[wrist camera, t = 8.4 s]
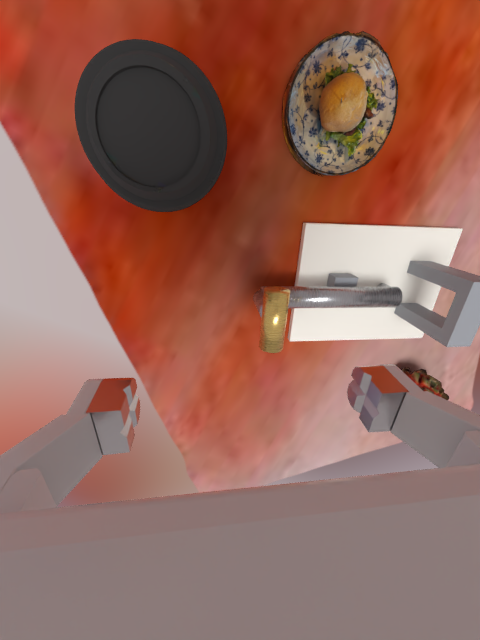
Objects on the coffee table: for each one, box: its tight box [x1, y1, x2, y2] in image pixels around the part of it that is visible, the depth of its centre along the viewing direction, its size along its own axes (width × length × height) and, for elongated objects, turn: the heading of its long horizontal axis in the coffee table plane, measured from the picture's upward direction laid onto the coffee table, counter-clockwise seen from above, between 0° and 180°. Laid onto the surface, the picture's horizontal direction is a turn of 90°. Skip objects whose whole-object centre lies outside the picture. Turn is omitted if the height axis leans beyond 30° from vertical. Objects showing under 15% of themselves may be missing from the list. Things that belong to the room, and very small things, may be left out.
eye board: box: [288, 223, 480, 347], centre depth 33 cm, size 21×16×10 cm
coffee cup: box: [75, 39, 227, 212], centre depth 22 cm, size 9×9×15 cm
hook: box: [253, 283, 403, 353], centre depth 31 cm, size 19×6×10 cm, turn 87°
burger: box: [282, 31, 398, 176], centre depth 26 cm, size 12×12×8 cm
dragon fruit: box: [402, 368, 449, 400], centre depth 44 cm, size 8×8×12 cm
